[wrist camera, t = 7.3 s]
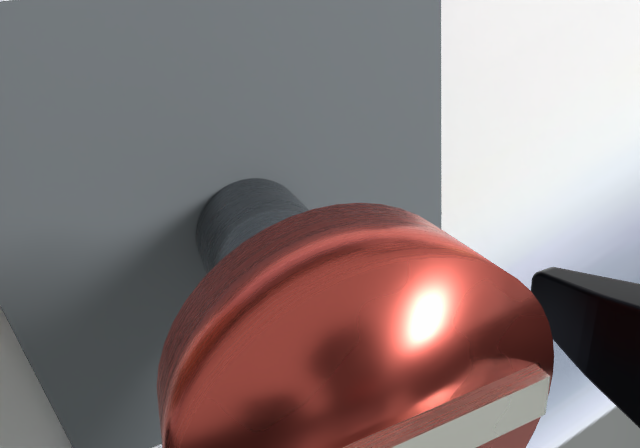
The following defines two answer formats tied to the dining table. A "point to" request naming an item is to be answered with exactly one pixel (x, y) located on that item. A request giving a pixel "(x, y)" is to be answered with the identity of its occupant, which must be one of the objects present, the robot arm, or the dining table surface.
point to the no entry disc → (348, 333)
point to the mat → (184, 163)
